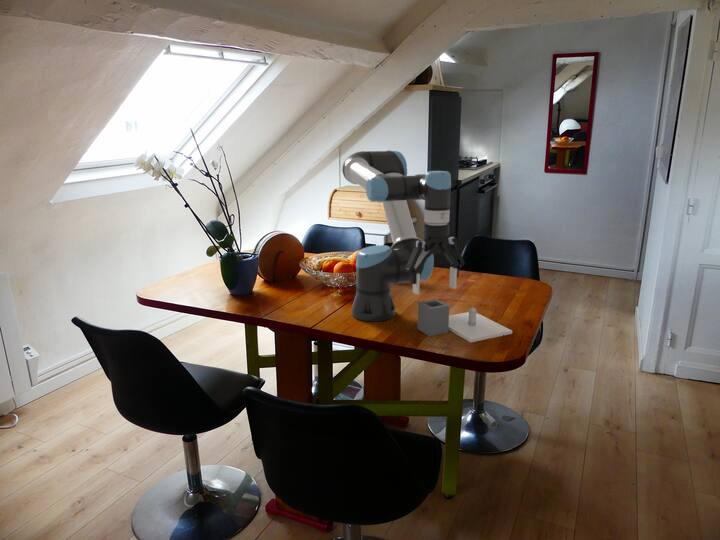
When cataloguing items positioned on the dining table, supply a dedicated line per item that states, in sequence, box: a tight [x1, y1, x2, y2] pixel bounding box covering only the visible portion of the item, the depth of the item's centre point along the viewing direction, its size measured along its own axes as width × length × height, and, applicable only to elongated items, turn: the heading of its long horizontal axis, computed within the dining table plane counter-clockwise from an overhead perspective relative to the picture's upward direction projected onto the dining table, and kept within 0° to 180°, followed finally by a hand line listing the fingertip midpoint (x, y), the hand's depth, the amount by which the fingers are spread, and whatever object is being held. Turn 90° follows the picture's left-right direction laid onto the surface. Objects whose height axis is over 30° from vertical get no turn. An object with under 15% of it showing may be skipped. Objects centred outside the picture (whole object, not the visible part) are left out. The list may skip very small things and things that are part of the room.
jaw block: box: [417, 299, 450, 337], centre depth 173 cm, size 7×7×9 cm
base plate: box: [448, 307, 513, 344], centre depth 177 cm, size 16×20×7 cm
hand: (434, 290), depth 171 cm, fingers open, 13 cm apart
